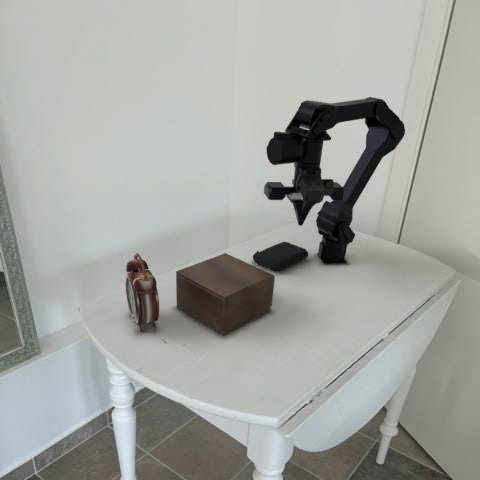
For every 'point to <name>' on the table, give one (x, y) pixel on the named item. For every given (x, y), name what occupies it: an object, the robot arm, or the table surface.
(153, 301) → the alarm clock
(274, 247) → the carrying case
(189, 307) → the cabinet
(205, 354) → the table surface
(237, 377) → the table surface
